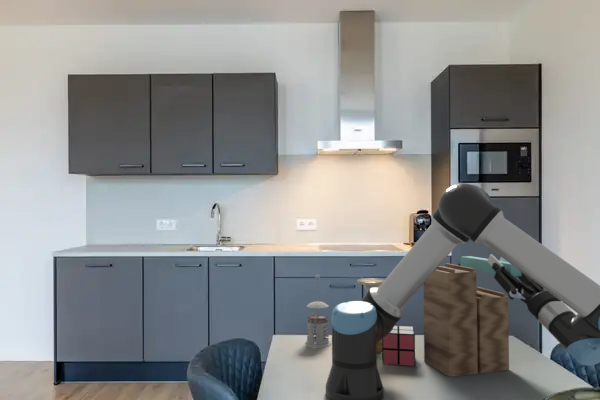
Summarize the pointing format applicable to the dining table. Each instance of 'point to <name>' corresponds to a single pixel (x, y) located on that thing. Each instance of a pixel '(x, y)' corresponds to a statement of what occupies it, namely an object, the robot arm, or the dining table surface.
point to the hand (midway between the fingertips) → (495, 257)
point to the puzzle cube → (399, 347)
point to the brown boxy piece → (464, 323)
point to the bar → (487, 265)
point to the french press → (317, 325)
